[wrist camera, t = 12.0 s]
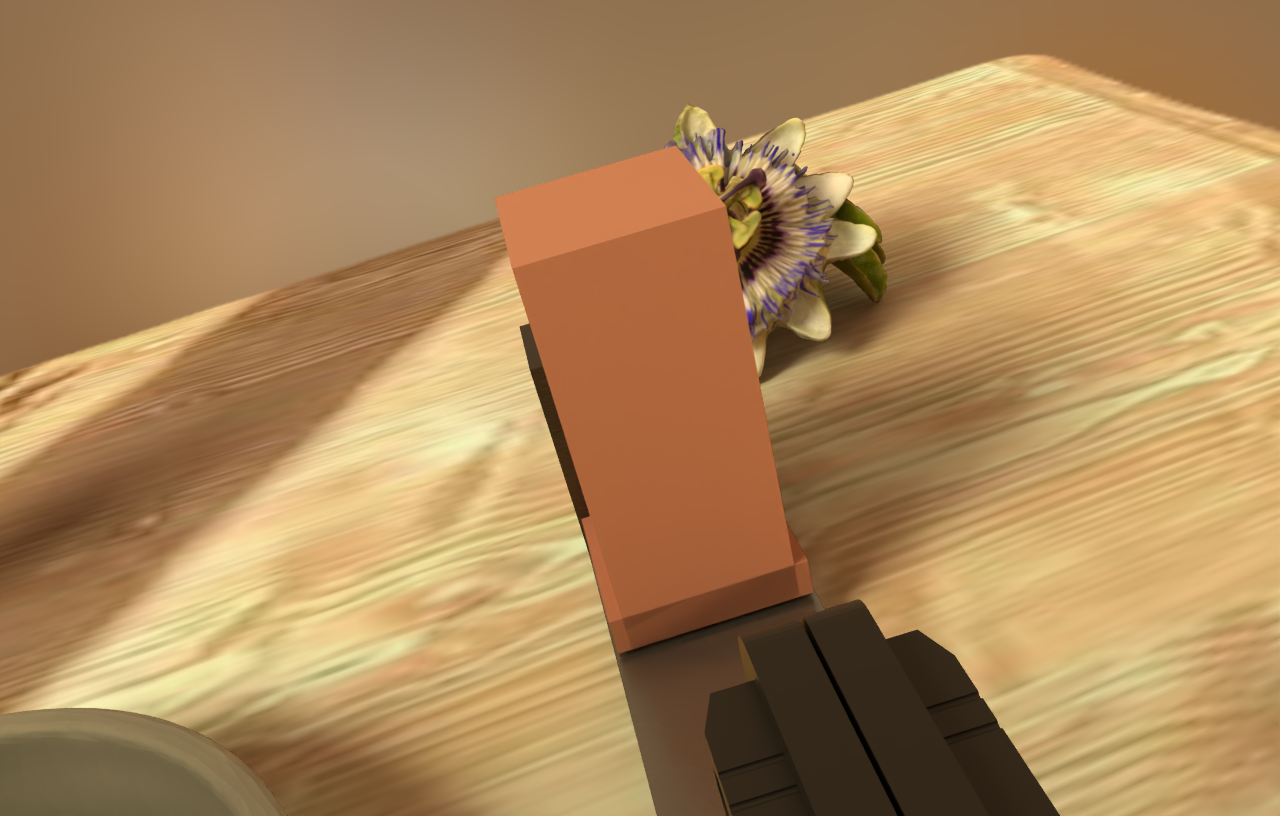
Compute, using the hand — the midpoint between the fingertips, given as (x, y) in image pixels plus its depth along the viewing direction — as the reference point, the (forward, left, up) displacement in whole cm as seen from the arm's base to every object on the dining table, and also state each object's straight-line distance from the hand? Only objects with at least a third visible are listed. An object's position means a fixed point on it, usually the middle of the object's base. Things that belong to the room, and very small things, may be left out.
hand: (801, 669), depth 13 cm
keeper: (0, +16, -12) cm, 20 cm away
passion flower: (+6, +31, -13) cm, 35 cm away
